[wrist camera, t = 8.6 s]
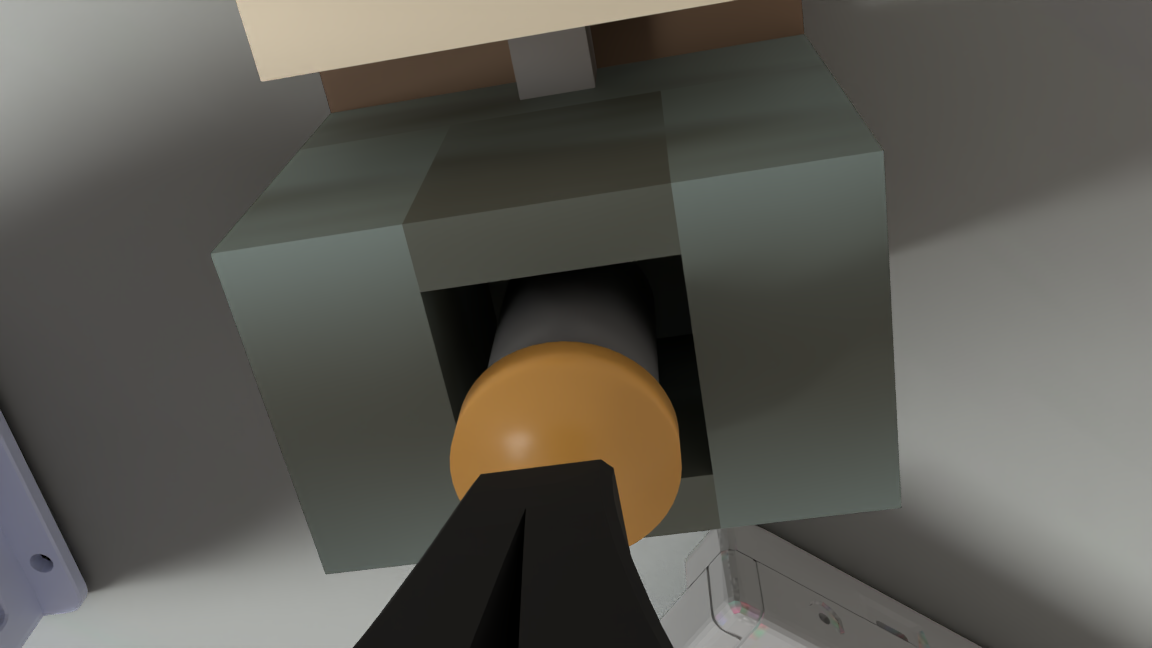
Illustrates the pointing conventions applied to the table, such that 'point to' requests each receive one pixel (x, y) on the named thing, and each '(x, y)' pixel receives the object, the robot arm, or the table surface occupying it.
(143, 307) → the table surface
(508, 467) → the button
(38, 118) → the table surface
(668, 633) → the handheld gaming device
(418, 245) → the rail base
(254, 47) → the carriage
